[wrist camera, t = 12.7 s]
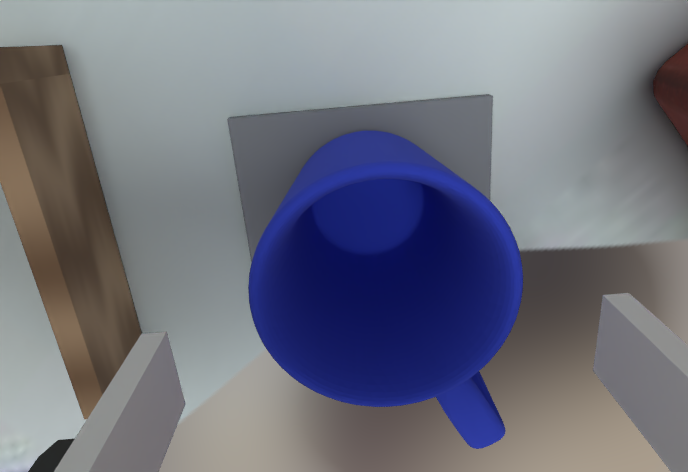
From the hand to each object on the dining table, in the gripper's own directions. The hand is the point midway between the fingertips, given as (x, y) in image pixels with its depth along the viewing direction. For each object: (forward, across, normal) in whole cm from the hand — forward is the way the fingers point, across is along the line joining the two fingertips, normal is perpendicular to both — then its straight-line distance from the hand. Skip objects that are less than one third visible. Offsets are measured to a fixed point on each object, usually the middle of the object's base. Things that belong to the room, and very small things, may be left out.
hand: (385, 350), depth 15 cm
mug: (+10, +1, 0) cm, 10 cm away
